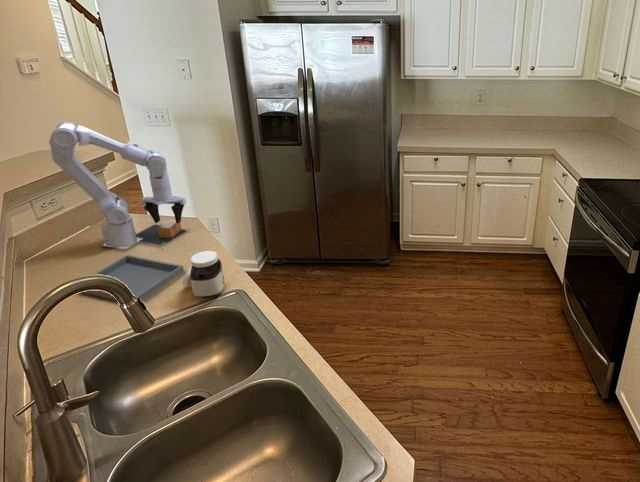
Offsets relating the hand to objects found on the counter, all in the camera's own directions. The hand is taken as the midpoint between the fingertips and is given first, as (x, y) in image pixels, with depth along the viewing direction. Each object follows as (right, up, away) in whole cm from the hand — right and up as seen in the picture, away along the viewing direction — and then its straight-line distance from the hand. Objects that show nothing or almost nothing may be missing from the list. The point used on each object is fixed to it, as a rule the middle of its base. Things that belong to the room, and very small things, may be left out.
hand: (168, 221), depth 155 cm
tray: (+4, -16, -26) cm, 31 cm away
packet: (0, -4, +2) cm, 5 cm away
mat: (-4, -5, +1) cm, 7 cm away
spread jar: (+27, -18, -29) cm, 43 cm away
